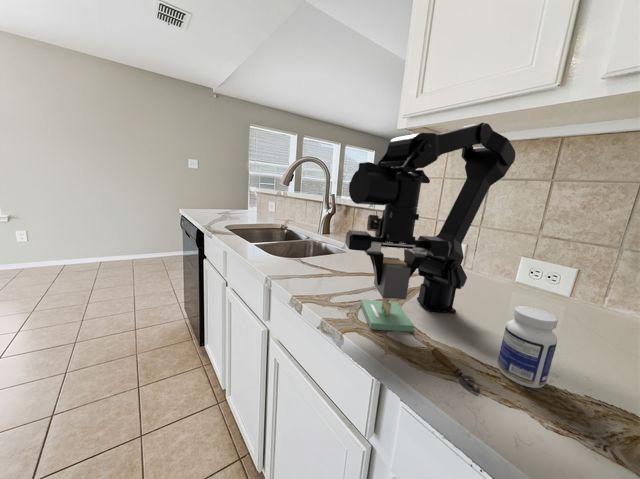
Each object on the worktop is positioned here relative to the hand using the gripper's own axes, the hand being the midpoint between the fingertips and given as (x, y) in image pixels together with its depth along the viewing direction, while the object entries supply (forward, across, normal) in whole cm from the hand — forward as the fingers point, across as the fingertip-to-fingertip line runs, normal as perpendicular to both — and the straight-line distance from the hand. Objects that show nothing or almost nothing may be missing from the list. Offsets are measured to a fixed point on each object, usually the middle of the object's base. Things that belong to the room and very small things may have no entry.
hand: (389, 285), depth 50 cm
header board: (+7, 0, 0) cm, 7 cm away
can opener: (+7, -6, +15) cm, 18 cm away
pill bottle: (+7, -16, +15) cm, 23 cm away
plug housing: (+1, 0, 0) cm, 1 cm away
